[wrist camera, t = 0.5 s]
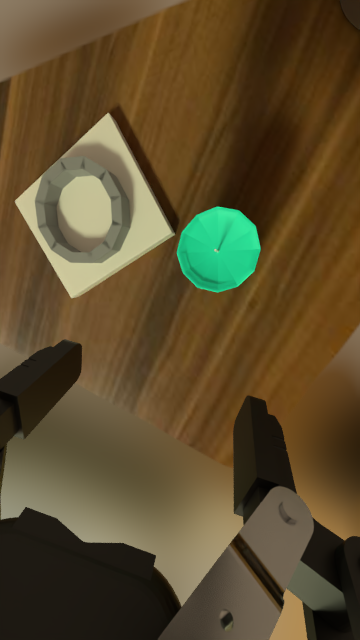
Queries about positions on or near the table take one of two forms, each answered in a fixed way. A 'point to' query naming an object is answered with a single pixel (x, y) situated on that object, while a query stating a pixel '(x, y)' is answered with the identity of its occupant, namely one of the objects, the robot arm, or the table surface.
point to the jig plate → (94, 210)
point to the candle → (218, 249)
